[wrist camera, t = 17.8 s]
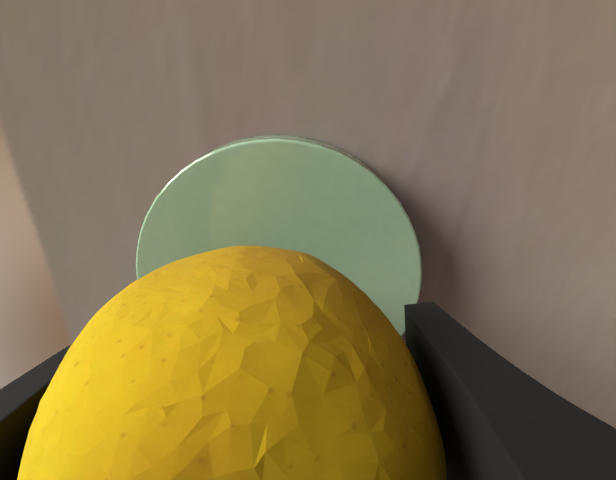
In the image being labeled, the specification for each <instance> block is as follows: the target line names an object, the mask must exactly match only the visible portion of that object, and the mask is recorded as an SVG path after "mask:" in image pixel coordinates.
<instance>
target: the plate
mask: <svg viewBox="0 0 616 480" xmlns="http://www.w3.org/2000/svg"><path fill="white" fill-rule="evenodd" d="M241 245H252V246H265V247H273V248H280V249H288V250H295V251H299V252H303V253H307V254H310V255H312V256H314V257H316V258H318V259H320V260H321V261H323V262H325V263H326V264H328V265H329V266H331V267H332V268H334V269H336V270H337V271H339V272H340V273H342V274H343V275H344V276H346V277H347V278H348V279H350V280H351V281H352V282H353V283H354V284H355V285H356V286H357V287H358V288H360V289H361V290H362V291H363V292H364V293H366V294H367V296H368V297H369V298H370V299H371V300H372V301H373V302H374V303H375V304H376V305H377V306H378V307H379V308H380V309H381V311H382V312H383V313H384V314H385V315H386V317H387V318H388V319H389V321H390V322H391V323H392V325H393V326H394V328H395V329H396V331H397V332H398V333H399V335H400V336H402V335H403V334H404V332H405V310H404V305H407V304H417V303H418V299H419V294H420V289H421V280H422V262H421V252H420V248H419V244H418V240H417V236H416V233H415V230H414V228H413V225H412V223H411V221H410V218H409V216H408V215H407V213H406V211H405V210H404V208H403V206H402V205H401V203H400V201H399V200H398V198H397V197H396V195H395V194H394V192H393V191H392V190H391V189H390V188H389V186H388V185H387V184H386V183H385V181H384V180H383V179H382V178H381V177H379V176H378V175H377V174H376V173H375V172H374V171H373V170H372V169H371V168H370V167H368V166H367V165H365V164H364V163H363V162H361V161H360V160H358V159H357V158H356V157H354V156H352V155H350V154H348V153H346V152H344V151H342V150H341V149H339V148H337V147H334V146H331V145H328V144H325V143H323V142H320V141H316V140H312V139H307V138H303V137H297V136H285V135H269V136H256V137H251V138H245V139H240V140H237V141H234V142H231V143H228V144H225V145H222V146H219V147H217V148H215V149H213V150H211V151H209V152H207V153H205V154H203V155H202V156H200V157H199V158H197V159H196V160H195V161H193V162H192V163H190V164H189V165H187V166H186V167H185V168H184V169H182V170H181V171H180V172H179V173H178V174H177V175H176V176H175V177H174V178H172V179H171V180H170V181H169V182H168V183H167V184H166V186H165V187H164V188H163V189H162V191H161V192H160V193H159V194H158V196H157V197H156V198H155V200H154V202H153V204H152V205H151V207H150V209H149V211H148V212H147V214H146V217H145V220H144V222H143V225H142V228H141V230H140V235H139V240H138V244H137V254H136V271H137V280H138V279H140V278H142V277H144V276H145V275H147V274H149V273H150V272H152V271H154V270H156V269H158V268H160V267H162V266H165V265H167V264H169V263H171V262H174V261H177V260H180V259H183V258H186V257H189V256H193V255H196V254H200V253H204V252H207V251H212V250H216V249H220V248H225V247H231V246H241Z"/></svg>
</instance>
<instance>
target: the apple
mask: <svg viewBox="0 0 616 480" xmlns="http://www.w3.org/2000/svg"><path fill="white" fill-rule="evenodd" d="M17 480H447V472H446V459H445V450H444V444H443V440H442V436H441V433H440V429H439V426H438V422H437V419H436V415H435V412H434V409H433V406H432V403H431V401H430V398H429V395H428V393H427V390H426V387H425V384H424V382H423V379H422V376H421V374H420V372H419V369H418V367H417V365H416V363H415V361H414V359H413V356H412V355H411V353H410V351H409V349H408V348H407V346H406V344H405V342H404V341H403V339H402V337H401V336H400V335H399V333H398V332H397V331H396V329H395V328H394V326H393V325H392V323H391V322H390V321H389V319H388V318H387V317H386V315H385V314H384V313H383V312H382V311H381V309H380V308H379V307H378V306H377V305H376V304H375V303H374V302H373V301H372V300H371V299H370V298H369V297H368V296H367V294H366V293H364V292H363V291H362V290H361V289H360V288H358V287H357V286H356V285H355V284H354V283H353V282H352V281H351V280H350V279H348V278H347V277H346V276H344V275H343V274H342V273H340V272H339V271H337V270H336V269H334V268H332V267H331V266H329V265H328V264H326V263H325V262H323V261H321V260H320V259H318V258H316V257H314V256H312V255H310V254H307V253H303V252H299V251H295V250H288V249H280V248H273V247H265V246H252V245H241V246H231V247H225V248H220V249H216V250H212V251H207V252H204V253H200V254H196V255H193V256H189V257H186V258H183V259H180V260H177V261H174V262H171V263H169V264H167V265H165V266H162V267H160V268H158V269H156V270H154V271H152V272H150V273H149V274H147V275H145V276H144V277H142V278H140V279H138V280H136V281H135V282H133V283H131V284H130V285H129V286H127V287H126V288H125V289H123V290H122V291H121V292H120V293H118V294H117V295H116V296H114V297H113V298H112V299H111V300H110V301H108V302H107V303H106V304H105V305H104V306H103V307H102V308H101V309H100V310H99V311H98V312H97V313H96V314H95V315H94V316H93V317H92V319H91V320H90V321H89V322H88V324H87V325H86V326H85V328H84V329H83V330H82V332H81V333H80V335H79V336H78V337H77V339H76V340H75V341H74V343H73V344H72V345H71V347H70V348H69V349H68V351H67V353H66V355H65V356H64V358H63V360H62V362H61V364H60V365H59V367H58V369H57V371H56V373H55V375H54V376H53V378H52V380H51V382H50V384H49V386H48V388H47V390H46V392H45V394H44V395H43V397H42V399H41V400H40V403H39V406H38V409H37V413H36V415H35V417H34V420H33V422H32V425H31V427H30V429H29V433H28V437H27V440H26V444H25V448H24V451H23V455H22V459H21V464H20V468H19V473H18V478H17Z"/></svg>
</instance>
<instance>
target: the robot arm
mask: <svg viewBox="0 0 616 480" xmlns="http://www.w3.org/2000/svg"><path fill="white" fill-rule="evenodd" d="M404 310H405V336H406V346H407V348H408V349H409V351H410V353H411V355H412V356H413V359H414V361H415V363H416V365H417V367H418V369H419V372H420V374H421V376H422V379H423V382H424V384H425V387H426V390H427V393H428V395H429V398H430V401H431V403H432V406H433V409H434V412H435V415H436V419H437V422H438V426H439V429H440V433H441V436H442V440H443V444H444V450H445V459H446V472H447V480H616V429H615V428H613V427H611V426H610V425H608V424H606V423H605V422H603V421H601V420H599V419H598V418H596V417H594V416H592V415H591V414H589V413H587V412H586V411H584V410H582V409H580V408H579V407H577V406H575V405H574V404H572V403H570V402H569V401H567V400H565V399H564V398H562V397H561V396H559V395H557V394H556V393H554V392H553V391H551V390H549V389H548V388H546V387H545V386H544V385H542V384H541V383H539V382H538V381H536V380H535V379H533V378H532V377H530V376H529V375H527V374H526V373H524V372H523V371H521V370H520V369H518V368H517V367H516V366H514V365H513V364H511V363H510V362H509V361H507V360H506V359H504V358H503V357H502V356H500V355H499V354H498V353H496V352H495V351H494V350H492V349H491V348H490V347H488V346H487V345H486V344H484V343H483V342H482V341H481V340H479V339H478V338H477V337H475V336H474V335H473V334H472V333H471V332H469V331H468V330H467V329H466V328H464V327H463V326H462V325H461V324H459V323H458V322H457V321H456V320H455V319H453V318H452V317H451V316H450V315H449V314H447V313H446V312H445V311H444V310H443V309H441V308H440V307H439V306H438V305H436V304H435V303H434V302H428V303H417V304H407V305H404ZM71 345H72V344H71ZM71 345H70V346H68V347H66V348H65V349H63V350H61V351H60V352H58V353H57V354H55V355H53V356H52V357H50V358H49V359H47V360H45V361H44V362H42V363H41V364H39V365H38V366H36V367H35V368H33V369H31V370H30V371H28V372H27V373H25V374H24V375H22V376H20V377H19V378H17V379H16V380H14V381H13V382H11V383H10V384H8V385H6V386H5V387H3V388H2V389H0V480H17V478H18V473H19V468H20V464H21V459H22V455H23V451H24V448H25V444H26V440H27V437H28V433H29V429H30V427H31V425H32V422H33V420H34V417H35V415H36V413H37V409H38V406H39V403H40V400H41V399H42V397H43V395H44V394H45V392H46V390H47V388H48V386H49V384H50V382H51V380H52V378H53V376H54V375H55V373H56V371H57V369H58V367H59V365H60V364H61V362H62V360H63V358H64V356H65V355H66V353H67V351H68V349H69V348H70V347H71Z"/></svg>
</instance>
